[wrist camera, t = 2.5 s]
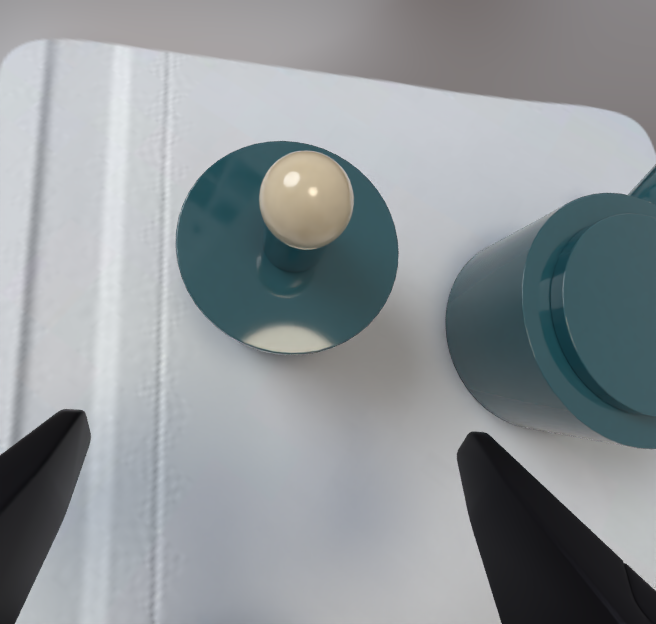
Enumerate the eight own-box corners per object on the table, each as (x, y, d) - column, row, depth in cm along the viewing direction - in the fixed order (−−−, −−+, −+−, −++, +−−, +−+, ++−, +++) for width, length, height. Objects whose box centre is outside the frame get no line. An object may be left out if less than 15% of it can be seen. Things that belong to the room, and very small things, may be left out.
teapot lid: (327, 398, 15) (372, 410, 10) (128, 274, 15) (52, 209, 9) (427, 224, 18) (510, 153, 12) (260, 110, 17) (264, -23, 11)
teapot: (616, 494, 25) (780, 546, 17) (411, 361, 24) (489, 354, 16) (689, 277, 29) (845, 241, 22) (520, 156, 28) (622, 72, 20)
